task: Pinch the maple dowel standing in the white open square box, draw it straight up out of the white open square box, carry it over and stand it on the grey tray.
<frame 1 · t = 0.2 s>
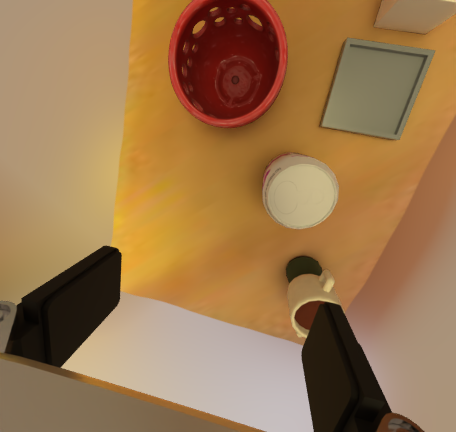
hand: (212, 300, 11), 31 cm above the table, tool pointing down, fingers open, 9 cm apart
tray: (369, 93, 33), on the table
character mug: (302, 269, 43), on the table
plant pot: (238, 86, 36), on the table
supplement can: (288, 177, 39), on the table
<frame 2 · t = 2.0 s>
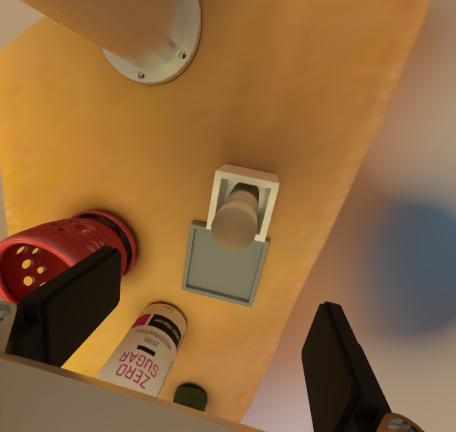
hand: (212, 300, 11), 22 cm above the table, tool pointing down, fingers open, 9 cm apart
tray: (224, 262, 35), on the table
white open square box: (245, 193, 31), on the table
character mug: (192, 392, 45), on the table
plant pot: (107, 243, 37), on the table
dowel: (245, 194, 30), point 1 cm above the table, touching white open square box
supplement can: (165, 319, 40), on the table
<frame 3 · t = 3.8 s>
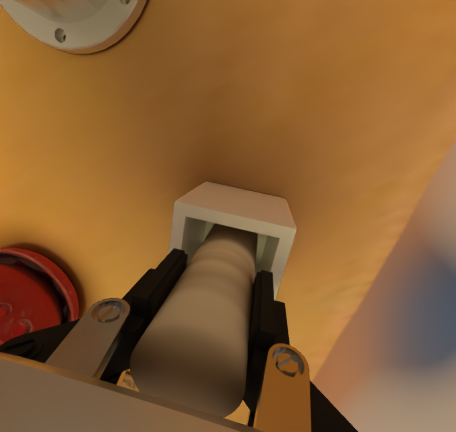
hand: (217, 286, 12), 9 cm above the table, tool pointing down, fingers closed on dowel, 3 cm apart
white open square box: (237, 226, 20), on the table
plant pot: (42, 291, 26), on the table
dowel: (236, 229, 19), point 1 cm above the table, touching white open square box, gripper
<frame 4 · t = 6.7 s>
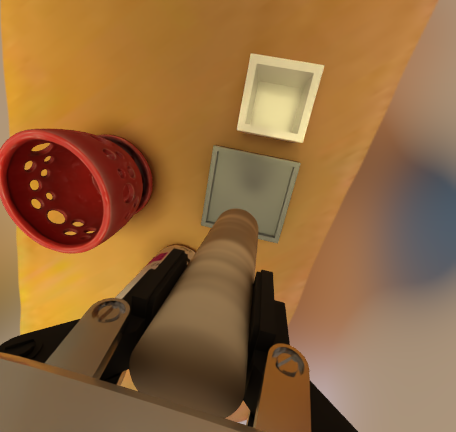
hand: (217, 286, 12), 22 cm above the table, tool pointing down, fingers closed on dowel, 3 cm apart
tray: (247, 193, 32), on the table
white open square box: (274, 109, 28), on the table
plant pot: (120, 179, 34), on the table
dowel: (236, 229, 19), point 14 cm above the table, touching gripper
supplement can: (181, 265, 37), on the table
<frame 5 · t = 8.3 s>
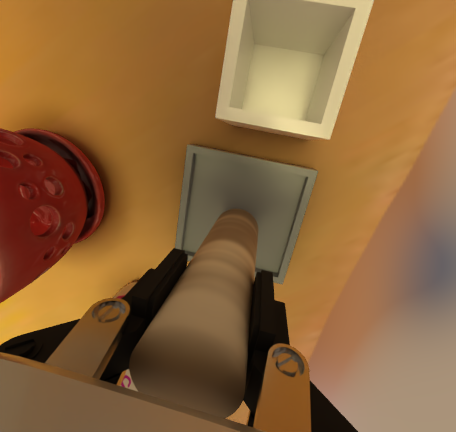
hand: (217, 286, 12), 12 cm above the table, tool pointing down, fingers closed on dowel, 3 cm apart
tray: (239, 213, 22), on the table
white open square box: (279, 89, 19), on the table
plant pot: (64, 191, 25), on the table
dowel: (236, 229, 19), point 3 cm above the table, touching gripper
supplement can: (152, 306, 28), on the table
when the fingers open (10 cm above the table, at t = 9.5 s): dowel stays where it is, resting on tray.
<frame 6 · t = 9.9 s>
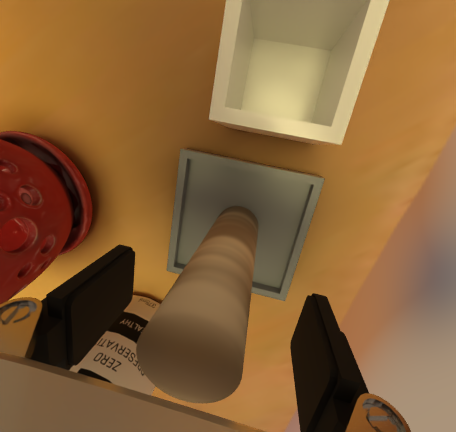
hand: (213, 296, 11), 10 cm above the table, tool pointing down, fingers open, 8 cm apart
tray: (238, 223, 21), on the table
white open square box: (281, 89, 17), on the table
plant pot: (49, 198, 23), on the table
dowel: (237, 226, 20), point 1 cm above the table, touching tray
supplement can: (144, 321, 26), on the table
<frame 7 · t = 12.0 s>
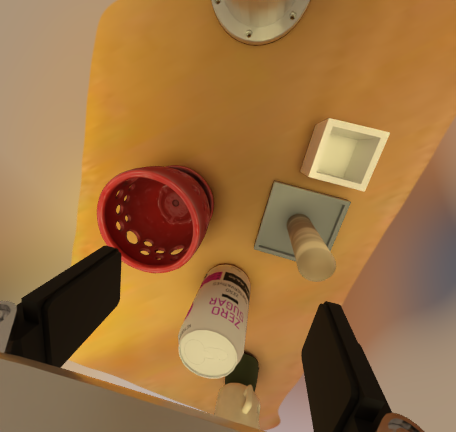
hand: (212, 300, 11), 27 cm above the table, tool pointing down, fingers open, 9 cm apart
tray: (298, 223, 36), on the table
white open square box: (330, 154, 33), on the table
character mug: (242, 361, 45), on the table
plant pot: (181, 202, 38), on the table
dowel: (298, 225, 35), point 1 cm above the table, touching tray
supplement can: (227, 282, 41), on the table
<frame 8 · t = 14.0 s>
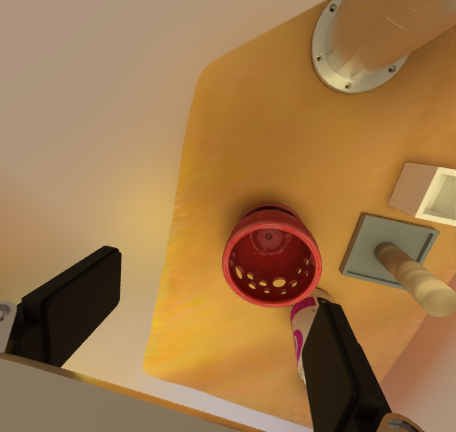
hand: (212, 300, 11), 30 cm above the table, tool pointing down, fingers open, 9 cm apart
tray: (383, 250, 39), on the table
white open square box: (418, 188, 35), on the table
plant pot: (269, 234, 41), on the table
dowel: (385, 251, 38), point 1 cm above the table, touching tray
supplement can: (310, 303, 44), on the table
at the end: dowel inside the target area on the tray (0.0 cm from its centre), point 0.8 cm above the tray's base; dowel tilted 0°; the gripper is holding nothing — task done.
